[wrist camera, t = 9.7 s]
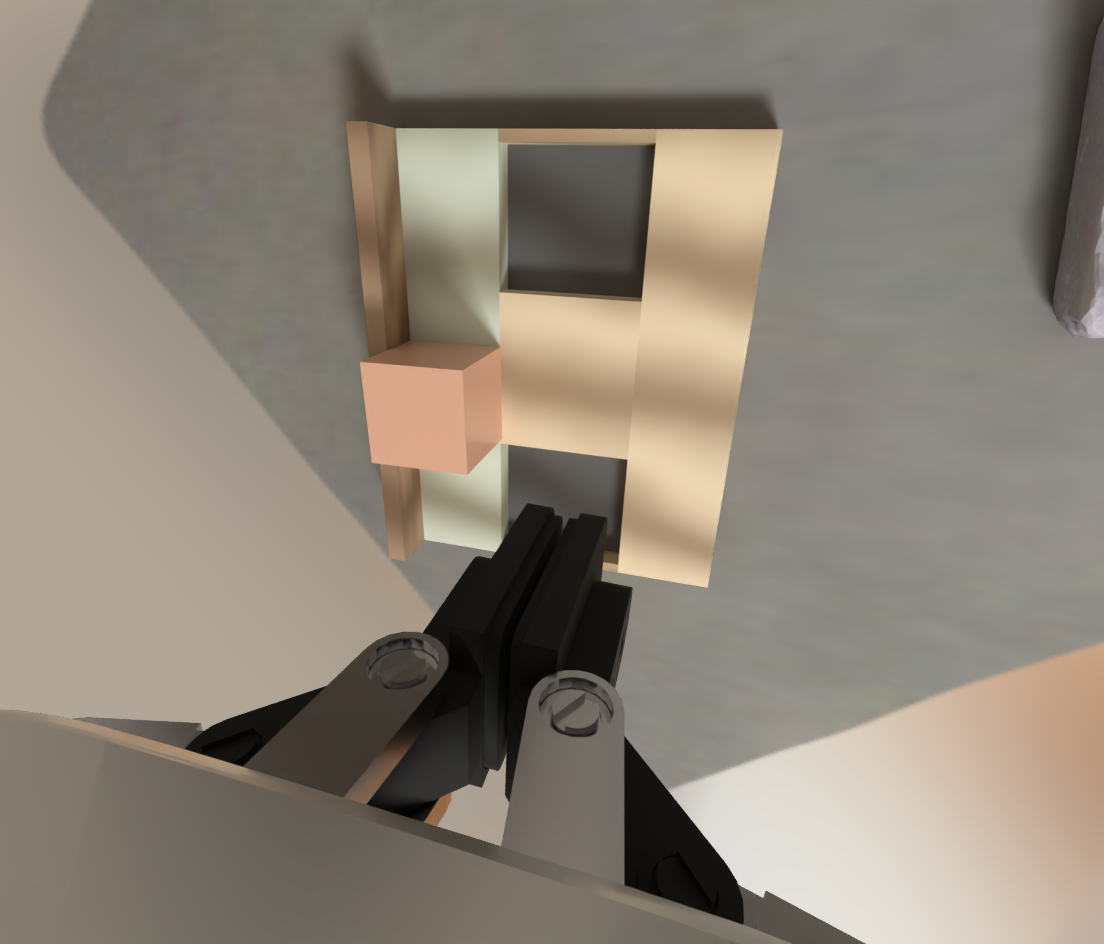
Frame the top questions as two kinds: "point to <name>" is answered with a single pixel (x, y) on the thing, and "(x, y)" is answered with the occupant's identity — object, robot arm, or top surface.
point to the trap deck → (573, 320)
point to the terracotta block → (433, 405)
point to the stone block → (1085, 218)
